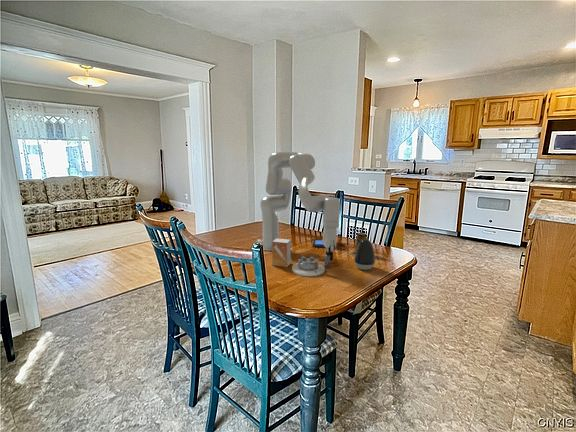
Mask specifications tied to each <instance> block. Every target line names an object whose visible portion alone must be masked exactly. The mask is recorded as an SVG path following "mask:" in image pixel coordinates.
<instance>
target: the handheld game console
mask: <svg viewBox="0 0 576 432" xmlns="http://www.w3.org/2000/svg"><path fill="white" fill-rule="evenodd" d="M312 241H313V242H312V247H313V248H316V249H318V248H319V249H326V247H325V246H324V245H323V238H314V239H313V240H312Z"/></svg>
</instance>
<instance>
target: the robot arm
mask: <svg viewBox="0 0 576 432" xmlns="http://www.w3.org/2000/svg"><path fill="white" fill-rule="evenodd" d="M315 166H316V159H315V157H314V156H313V155H312V154H310V153H304V152H297V151H296V152H295V151H276V152H272V153H271V154H270V155H269V156H268V160H267V171H268V172H267V176H266V177H267V178H266V183H265V193H266V194H267V195H268V196H265V197H263V198H262V199H261V200H260V211H261V218H262V220H261V221H262V224H261V225H262V239H257V240H256V243H257V244H258V243H261V244H262V245H263V246H264V250H263V251H269V252H270V251H272V243H273V241H274V240H275V239H279V218H278V216H277V214H276V213H277V212H282V211H286V210H287V209H288V207H289V205H290V204H289V203H290V201H291V194H292V188H293V187H292V186H293V185H292V182H291V180H290V179H288V178H286V177H283V176H284V173H283V172H284V171H283V169H285V168H286V169H287V168H288V169H291V171H292V172H293V174H294V176H295V179H297V181H298V183H299V186H298V198H299V200H300V202H301V204H302V206H303V208H304V209H305V210H306V211H308V212H310V213H313V212H320V211H321V212H322V213H323V214H322V227H323V232H322V239H323V245H324V246H325V247H326V248H325V255H326V254H328V255H330V262H332V261H334V249H337V241H338V237H337V236H338V234H337V233H338V230H337V229H338V228H339V226H340V205H341V202H340V201H341V200H340V198H338V197H332V196H329V195H326V194H321V195H319V194H318V195H311V193H310V190H309V188H308V187H309V185H310V184H312V183H313V182H314V180H315V177H316V176H315V173H314V172H313V171H312V170H313V169H314V168H315ZM261 244H260V245H261Z"/></svg>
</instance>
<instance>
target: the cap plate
mask: <svg viewBox="0 0 576 432" xmlns="http://www.w3.org/2000/svg"><path fill="white" fill-rule="evenodd" d="M325 269H326V268H325V265H320V264H319V267H318V269H316V270H313V271H306V270H301V269H299V268H298V262H297V263H294V264H293V265H292V267H291V271H292V272H293V274H295V275H298V276H301V277H317V276H321V275H323V274H324V273H325Z"/></svg>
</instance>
